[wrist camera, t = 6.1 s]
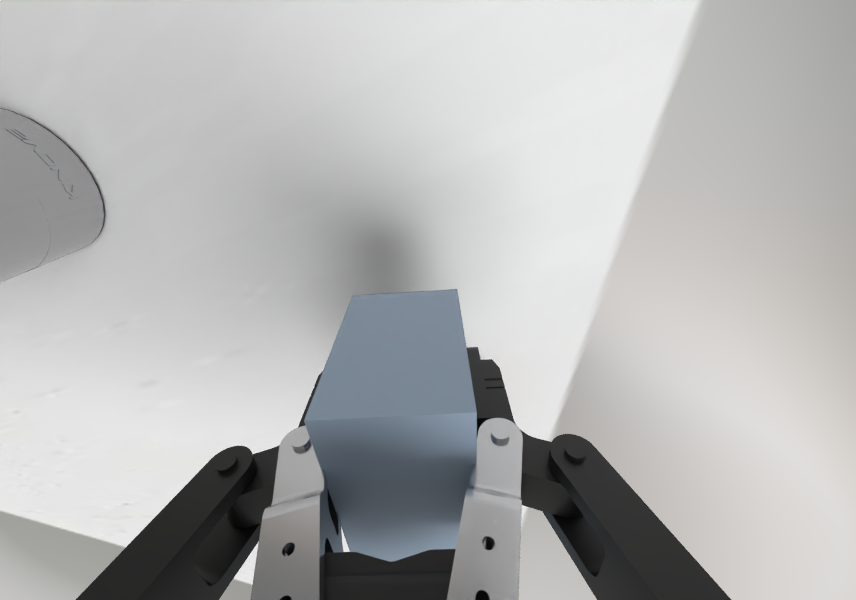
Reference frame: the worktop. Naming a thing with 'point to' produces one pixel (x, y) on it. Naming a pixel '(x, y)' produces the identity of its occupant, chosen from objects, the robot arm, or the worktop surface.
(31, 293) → the worktop surface
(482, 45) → the worktop surface
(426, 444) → the peg
